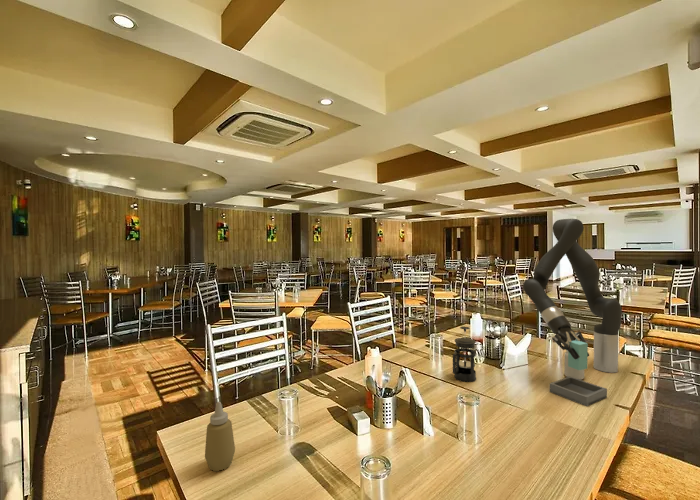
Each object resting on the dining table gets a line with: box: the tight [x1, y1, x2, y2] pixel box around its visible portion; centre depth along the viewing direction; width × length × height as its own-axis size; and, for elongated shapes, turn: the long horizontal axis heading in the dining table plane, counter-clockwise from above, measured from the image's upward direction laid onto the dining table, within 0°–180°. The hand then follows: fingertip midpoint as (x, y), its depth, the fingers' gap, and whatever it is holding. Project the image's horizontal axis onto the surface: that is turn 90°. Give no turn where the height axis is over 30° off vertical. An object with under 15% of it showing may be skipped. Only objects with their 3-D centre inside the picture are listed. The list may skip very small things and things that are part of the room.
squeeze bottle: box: [204, 401, 236, 472], centre depth 97 cm, size 8×8×18 cm
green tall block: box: [568, 339, 589, 370], centre depth 136 cm, size 4×4×10 cm
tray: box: [549, 376, 608, 407], centre depth 137 cm, size 14×14×4 cm
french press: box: [452, 325, 477, 383], centre depth 154 cm, size 12×9×23 cm
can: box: [563, 350, 585, 381], centre depth 153 cm, size 8×8×12 cm
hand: (582, 357), depth 134 cm, fingers closed on green tall block, 4 cm apart
